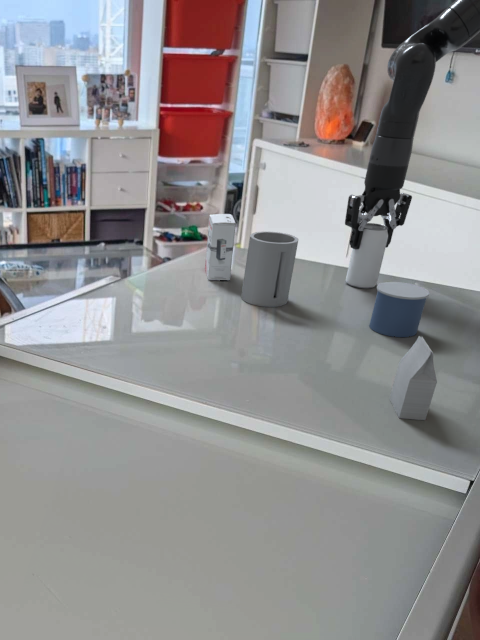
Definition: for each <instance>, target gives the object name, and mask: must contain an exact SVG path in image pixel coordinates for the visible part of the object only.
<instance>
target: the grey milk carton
mask: <svg viewBox="0 0 480 640" xmlns="http://www.w3.org/2000/svg"><path fill="white" fill-rule="evenodd" d="M437 384H438V381H437V374H436V370H435V364H434V352H433V351H432V349H431V347H430V346H429V345H428V343H427V342H426V340H425V338H424V337H423V336H421V335H418V337H417V338H416V340H415V342H414V343H413V344H412V346H411V347H410V348H409V350H408V351H407V352H406V353H405V354H404V355H403V356H402V358H401V359H400V360H399V361H398V365H397V369H396V372H395V376H394V380H393V383H392V387H391V390H390V394H389V398H388V399H389V400H390V403H391V405H392V407H393V410H395V413H396V415H397V417H398V419H405V420H417V421H426V419H427V417H428V412H429V410H430V406H431V403H432V400H433V397H434V394H435V390H436V388H437Z"/></svg>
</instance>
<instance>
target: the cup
mask: <svg viewBox="0 0 480 640" xmlns="http://www.w3.org/2000/svg"><path fill="white" fill-rule="evenodd" d="M298 244H299V238H298V237H297V236H295V235H292V234H288V233H283V232H278V231H255V232H252V233H251V234H250V235H249V240H248V247H247V254H246V261H245V268H244V274H243V275H244V276H243V282H242V289H241V295H240V298H241V299H242V301H244V302H245V303H247V304H250V305H253V306H259V307H267V308H269V307H270V308H275V307H281V306H284V305H286V304H287V303H288V300H289V294H290V289H291V283H292V278H293V273H294V267H295V261H296V255H297V251H298V250H297V249H298ZM274 296H275V297H274Z"/></svg>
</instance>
